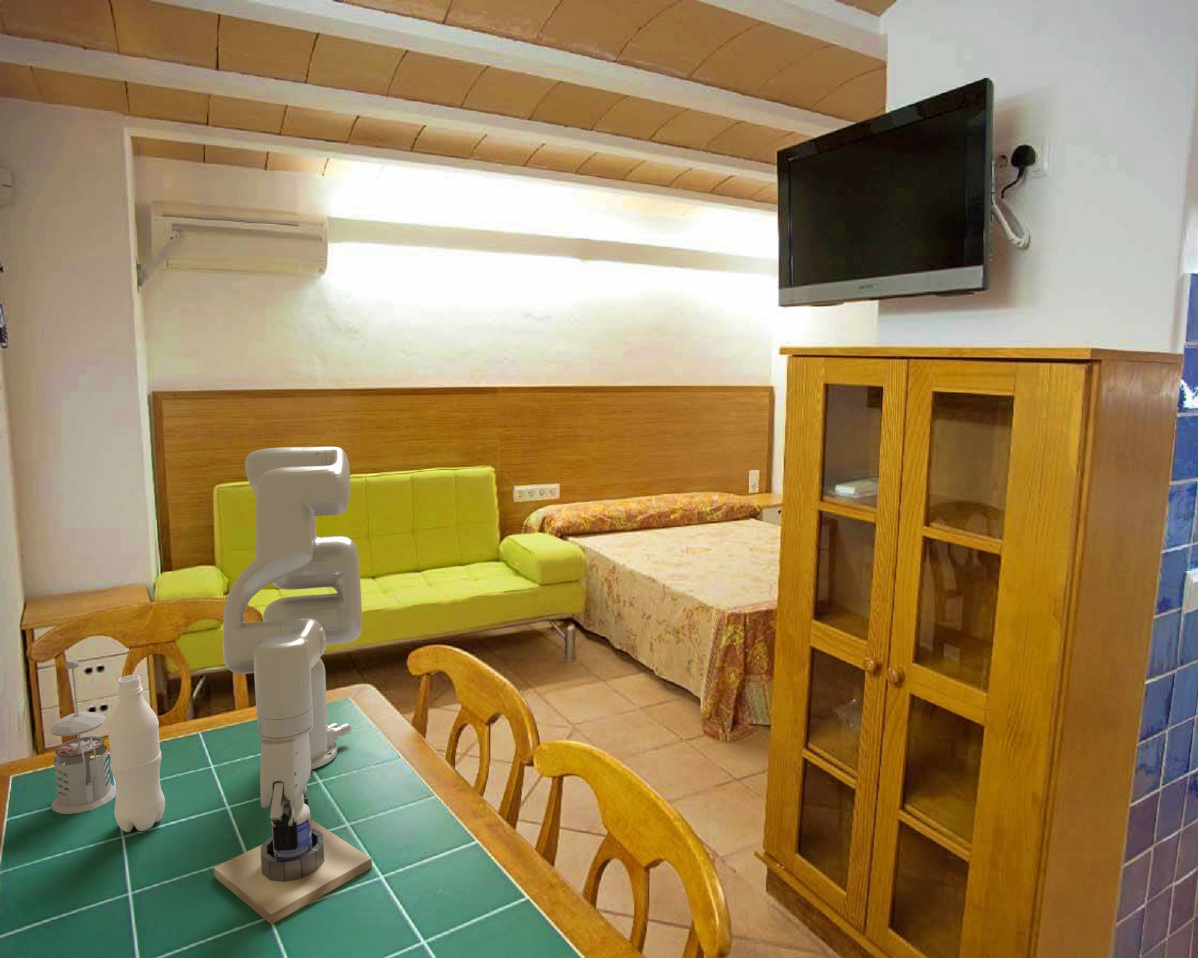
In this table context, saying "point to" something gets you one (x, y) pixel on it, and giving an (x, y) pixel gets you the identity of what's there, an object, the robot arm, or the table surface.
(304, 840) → the pill bottle
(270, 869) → the collar
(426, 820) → the table surface
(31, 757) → the table surface
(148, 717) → the water bottle
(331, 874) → the stand plate
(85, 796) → the french press
